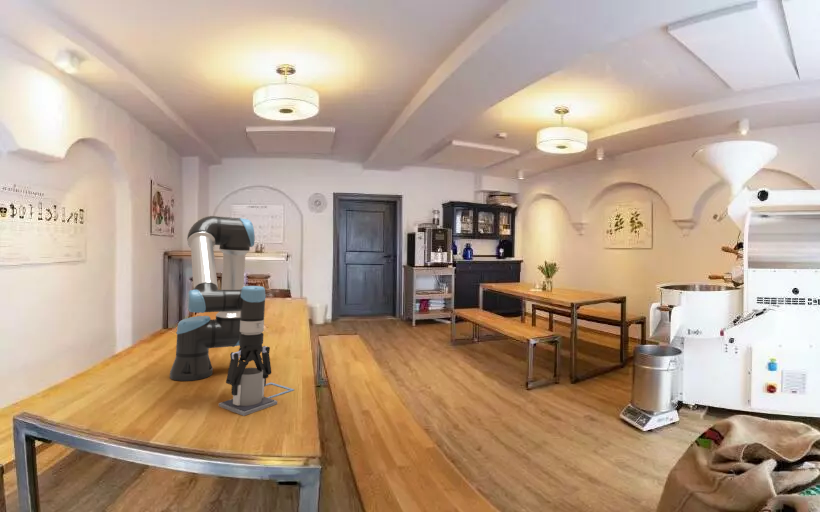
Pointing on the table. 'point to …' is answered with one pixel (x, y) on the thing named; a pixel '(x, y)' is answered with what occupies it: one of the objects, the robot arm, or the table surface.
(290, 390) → the marked square
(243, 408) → the pad
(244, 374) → the cup
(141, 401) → the table surface
